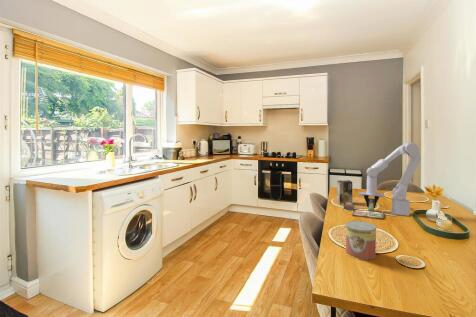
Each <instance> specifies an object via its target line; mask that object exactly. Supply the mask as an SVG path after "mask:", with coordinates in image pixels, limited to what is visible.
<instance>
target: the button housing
mask: <svg viewBox="0 0 476 317" xmlns="http://www.w3.org/2000/svg"><path fill="white" fill-rule="evenodd" d="M354 208H355V204H352V206H346V204H343V210H344V209H346V210H345V211H351V210H355V209H354Z"/></svg>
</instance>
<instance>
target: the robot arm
mask: <svg viewBox="0 0 476 317" xmlns="http://www.w3.org/2000/svg"><path fill="white" fill-rule="evenodd" d="M405 154H406V155H407V156H408V159H409V160H408V162H407V165H406V166H405V168H404V171H403V173H402V175H401V178H400V179H399V181H398V183H397V184H396V186H395V187H393V189H392V190H391V193H392V195H393V196H392V198H391V210H390V214H391V215H398V216H406V217H409V216H410V213H411V209H410V208H411V204H410V202H411V201H410V199H407V192H408V187H409V184H411V183H410V182H411V180H412V178H413V176H414V174H415V172H416V170H417V168H418V166H419V163H420V161H421V154H420V148H419V146H418V145H417V143H415V142H411V141H406V142H404V143H403V144H401V145H400V146H398V147H397V148H396V149H394V150H393V151H392V152H391V153H390V154H388V155H387V156H386V157H385V158H380V159H378V160H377V162H375V163H373V165H371V166H370V167H368V168H367V169H366V172H365V173H366V174H367V176H366V191H364V192H362V191H359V192H358V196H361V197H362V196H363V198H364V201H365V204H366V207H367V208H368V205H369V202H368V199H369V197H374V198H373V199H374V209H376V205H377V204H378V201H379V199H380V198H385V193H379V192H377V191H378V190H377V189H378V179H377V177H378V175H379V173H381V172H383V170H385V169H386V168H387V167H389V163H390V162H391V161H393V160H394V159H396V158H397V157H399V156H400V155H405Z"/></svg>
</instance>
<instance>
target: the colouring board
mask: <svg viewBox="0 0 476 317" xmlns="http://www.w3.org/2000/svg"><path fill="white" fill-rule="evenodd" d="M384 215H385V212H377V211H374V212H371V211H368V210H360V209H354V211H353V213H352V217H356V218H357V217H359V218H367V219H375V220H381V221H382V220H384Z"/></svg>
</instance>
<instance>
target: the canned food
mask: <svg viewBox="0 0 476 317" xmlns="http://www.w3.org/2000/svg"><path fill="white" fill-rule="evenodd" d="M345 227H346V228H345V253H346V252H347V253H348V254H349V255H351V256H353V257H355V258H354V259H356V258H358V259H357V260H361V259H366V260H365V261H369V260H368V259H371V260H373V258H374V259H375V258H376V255H377V254H376V247H377V246H376V243H377V242H376V241H377V240H376V238H377V226H376V225H374V224H373V223H370V222H367V221H362V220H361V221H359V220H352V221H347V222H346V223H345ZM349 255H348V256H349ZM351 256H350V257H351ZM353 257H352V258H353Z"/></svg>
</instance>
